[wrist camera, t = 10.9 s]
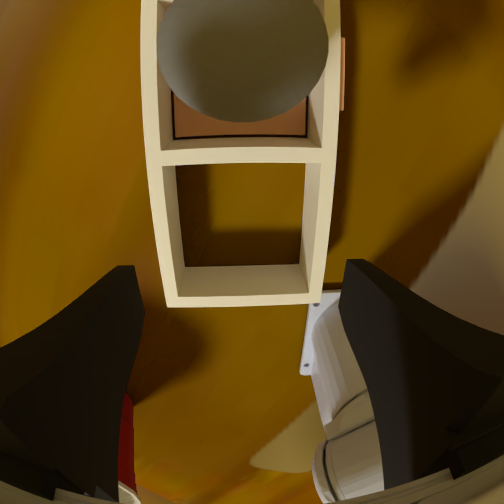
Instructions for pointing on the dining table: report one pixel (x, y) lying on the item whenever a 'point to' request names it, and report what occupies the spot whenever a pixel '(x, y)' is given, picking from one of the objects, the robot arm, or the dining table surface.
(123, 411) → the plastic cup
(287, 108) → the light bulb
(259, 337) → the dining table surface
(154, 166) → the rack
